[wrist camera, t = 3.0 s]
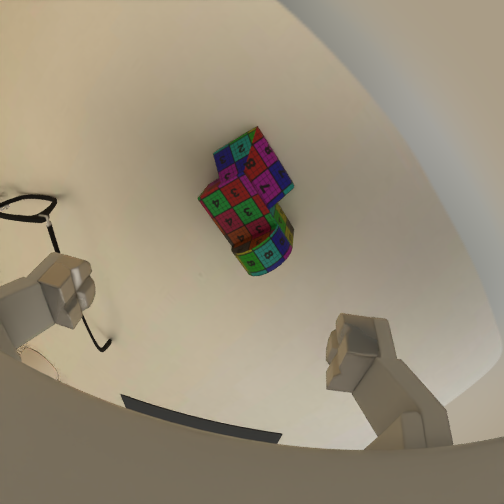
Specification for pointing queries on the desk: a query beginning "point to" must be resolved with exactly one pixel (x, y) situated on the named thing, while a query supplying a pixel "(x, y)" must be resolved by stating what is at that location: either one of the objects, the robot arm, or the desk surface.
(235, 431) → the mat
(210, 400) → the desk surface
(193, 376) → the desk surface
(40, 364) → the candle
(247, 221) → the block
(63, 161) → the desk surface
